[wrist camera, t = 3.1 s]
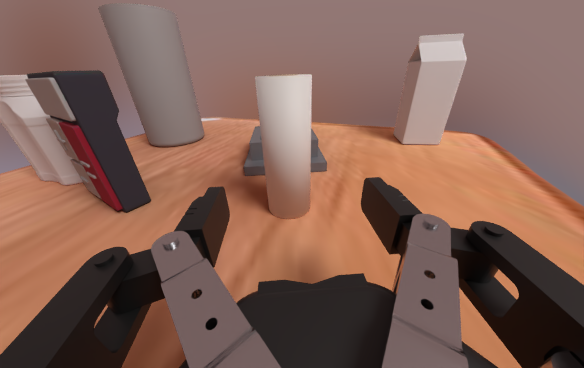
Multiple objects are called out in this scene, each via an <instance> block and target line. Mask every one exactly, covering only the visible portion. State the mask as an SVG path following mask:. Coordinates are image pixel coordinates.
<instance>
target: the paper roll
mask: <svg viewBox="0 0 584 368" xmlns="http://www.w3.org/2000/svg"><path fill="white" fill-rule="evenodd" d="M255 82H256V92H257V101H258V110H259V120H260V130H261V139H262V148H263V158H264V167H265V177H266V186H267V195H268V205H269V211H270V212H271V213H272V214H273V215H274V216H276V217H279V218H283V219H294V218H298V217H301V216H303V215H305V214H306V213H307V212H308V211H309V209H310V179H311V97H312V94H311V93H312V75H308V74H306V75H298V74H294V75H293V74H292V75H269V76H257V77H255Z"/></svg>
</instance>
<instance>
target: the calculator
mask: <svg viewBox="0 0 584 368" xmlns="http://www.w3.org/2000/svg"><path fill="white" fill-rule="evenodd" d="M27 77H28V79H25V80H26V82H27V84H28V86H29V88H30V89H31V91H32V93H33V94H34V96H35V98H36V99H37V101H38V103H39V104H40V106H41V108H42V110H43V111H44V113H45V114H47V115H50V117H51V118H46V120H47V122H48V124H49V126H50V127H51V129H52V131H53V132H54V134H55V136H56V137H57V138H56V139H57V140H58V141H59V142H60V144H61V146H62V147H63V149H64V151H65V152H66V154H67V155H68V156H69V157H71V158H73V159H71V160H70V161H71V162H72V164H73V166H74V168H75V169H76V171H77V173H78V174H79V176H80V179H81V180H82V181H83V183H84V184H85V186H86V188H87V189H88V190H89V191H90V192H91V193H93V194H94V195H96V196H97V197H98V198H100V199H102V200H103V201H104V202H106V203H107V204H108V205H110V206H111V207H113V208H114V209H115V210H117V211H118V210H123V211H124V212H129V211H131V210H133V209H136V208H138V207H140V206H142V205H144V204H146V203H148V202H150V201H151V199H150V196H149V194H148V192H147V190H146V187H145V185H144V183H143V180H142V178H141V176H140V174H139V171H138V169H137V167H136V164H135V162H134V160H133V157H132V155H131V153H130V151H129V148H128V146H127V144H126V141H125V139H124V137H123V135H122V132H121V130H120V128H119V125H118V123H117V117H118V112H119V109H118V107H117V104H116V102H115V100H114V97H113V95H112V92H111V90H110V88H109V85H108V83H107V80H106V78H105V76H104V74H103V73H102V72H101V71H52V72H42V73H32V74H27Z"/></svg>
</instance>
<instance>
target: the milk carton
mask: <svg viewBox="0 0 584 368" xmlns="http://www.w3.org/2000/svg"><path fill="white" fill-rule="evenodd" d="M463 37H464V34H447V35H430V36H420V38H419V42H418V45H417V47H416V49H415V51H414V52H413V54H412V56H411V58H410V60H409V62H408V66H407V71H406V76H405V81H404V85H403V90H402V95H401V100H400V105H399V110H398V115H397V119H396V124H395V129H394V134H393V135H394V136H395V137H396V138H397V139H398V140H399V141H400V142H401V143H402V144H430V145H439V144H440V141H441V138H442V134H443V131H444V128H445V125H446V122H447V119H448V116H449V113H450V110H451V107H452V104H453V101H454V97H455V95H456V91H457V88H458V85H459V82H460V79H461V76H462V73H463V70H464V67H465V63H466V61H467V58H466V54H465V50H464V46H463V43H462V40H463Z"/></svg>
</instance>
